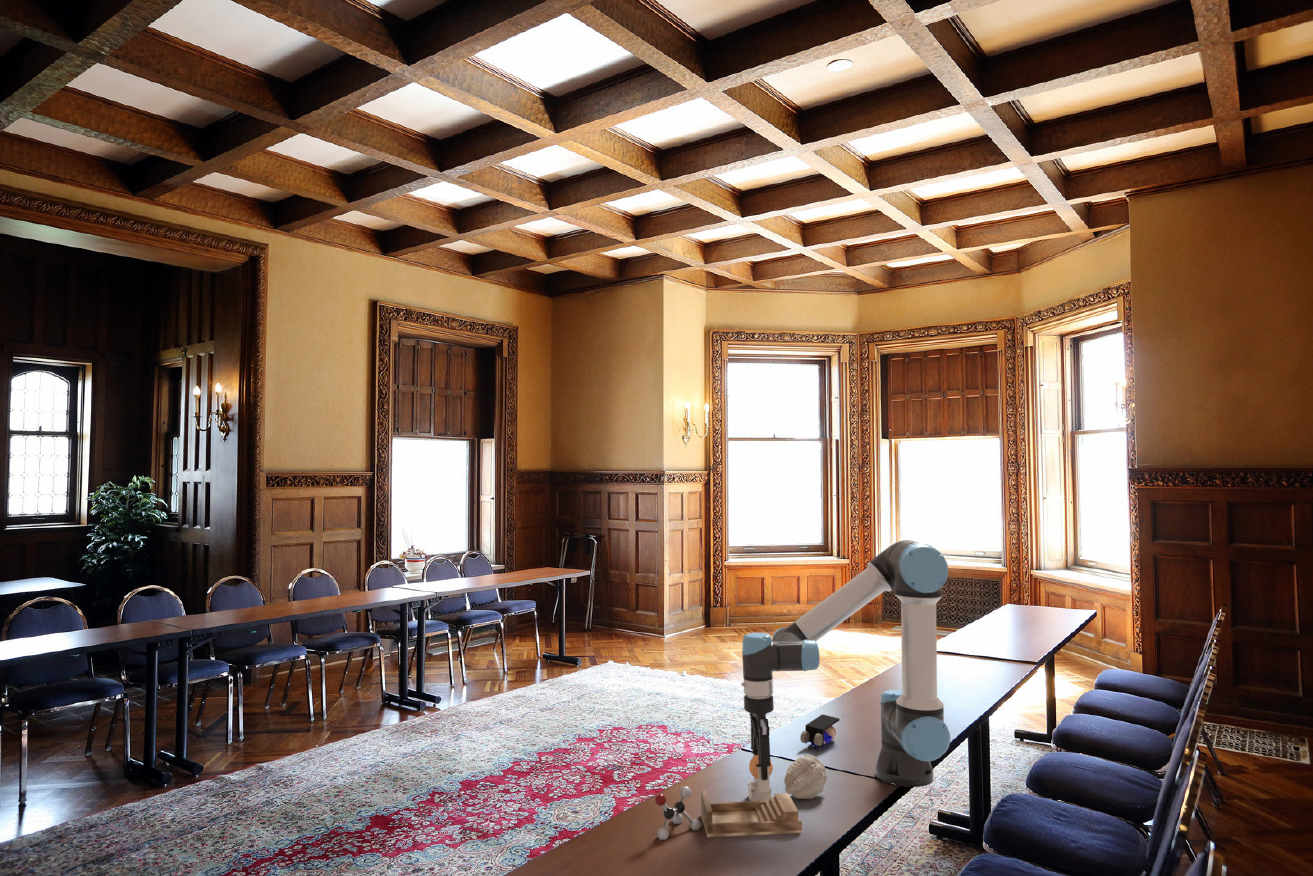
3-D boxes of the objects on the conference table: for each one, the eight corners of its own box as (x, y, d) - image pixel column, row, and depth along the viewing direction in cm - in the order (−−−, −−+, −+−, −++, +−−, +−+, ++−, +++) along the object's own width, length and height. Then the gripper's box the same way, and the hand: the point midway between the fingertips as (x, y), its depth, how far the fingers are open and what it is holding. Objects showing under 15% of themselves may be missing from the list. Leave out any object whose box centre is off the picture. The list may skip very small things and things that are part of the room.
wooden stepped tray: (790, 813, 196) (789, 787, 197) (802, 835, 184) (801, 808, 185) (701, 816, 195) (700, 790, 195) (707, 839, 183) (707, 811, 183)
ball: (770, 773, 207) (769, 750, 208) (775, 782, 201) (774, 758, 202) (747, 775, 207) (746, 751, 207) (751, 784, 201) (751, 760, 201)
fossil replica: (793, 807, 200) (792, 767, 200) (776, 795, 207) (775, 756, 208) (834, 800, 204) (833, 760, 204) (815, 788, 212) (815, 749, 212)
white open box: (767, 796, 207) (767, 781, 207) (771, 804, 202) (771, 789, 202) (748, 797, 206) (748, 782, 206) (751, 805, 201) (751, 790, 201)
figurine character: (820, 759, 237) (841, 739, 248) (818, 734, 236) (840, 715, 248) (800, 754, 241) (822, 735, 253) (798, 729, 240) (820, 711, 252)
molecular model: (703, 830, 188) (702, 784, 188) (671, 849, 179) (670, 800, 179) (676, 820, 193) (675, 775, 193) (643, 838, 184) (643, 791, 184)
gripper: (737, 685, 214) (740, 773, 213) (750, 706, 195) (753, 802, 194) (765, 684, 215) (768, 771, 214) (780, 705, 196) (784, 800, 195)
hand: (761, 786), depth 204 cm, fingers closed on ball, 6 cm apart
